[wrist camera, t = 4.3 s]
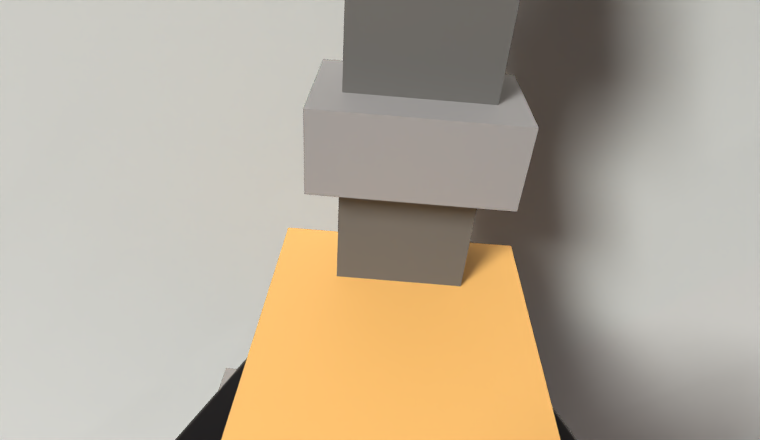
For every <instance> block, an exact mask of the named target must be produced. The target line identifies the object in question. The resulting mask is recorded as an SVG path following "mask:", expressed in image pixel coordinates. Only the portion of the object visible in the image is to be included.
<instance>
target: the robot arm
mask: <svg viewBox="0 0 760 440" xmlns="http://www.w3.org/2000/svg"><path fill="white" fill-rule="evenodd" d="M246 360H247V359H246ZM246 360H245V361H244V362H243V363H242V364H241V365H240V367H239V368H238V369H237V370H236V371H235V372H234V373H233V374H232V376H231V377H230V378H229V379H228V380H227V381H226V382H225V384H224V385H223V386H222V387H221V388H220V389H219V390H218V392H217V393H216V394H215V395H214V396H213V397H212V398H211V400H210V401H209V402H208V403H207V404H206V405H205V406H204V408H203V409H202V410H201V411H200V412H199V413H198V414H197V415H196V417H195V418H194V419H193V420H192V421H191V422H190V423H189V425H188V426H187V427H186V428H185V429H184V430H183V431H182V433H181V434H180V435H179V436H178V437H177V438H176V439H175V440H221V439H222V436H223V433H224V429H225V426H226V423H227V420H228V417H229V414H230V410H231V407H232V404H233V401H234V398H235V395H236V392H237V388H238V385H239V382H240V379H241V376H242V373H243V369H244V366H245V363H246ZM552 408H553V407H552ZM553 412H554V416H555V420H556V424H557V428H558V432H559V436H560V440H576V438H575V437H574V436H573V434H572V433H571V432H570V430H569V429H568V427H567V426H566V425H565V423H564V422H563V421H562V419H561V418H560V417H559V415H558V414H557V412H556V411H555V410H554V408H553Z"/></svg>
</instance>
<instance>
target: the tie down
mask: <svg viewBox="0 0 760 440" xmlns="http://www.w3.org/2000/svg"><path fill="white" fill-rule="evenodd" d="M519 3H520V0H345V11H344V45H343V61H340V60H328V59H323V61H322V63H321V66H320V68H319V71H318V73H317V76H316V78H315V81H314V83H313V86H312V88H311V91H310V93H309V96H308V98H307V100H306V103H305V105H304V108H303V127H304V194H309V195H321V196H333V197H339V214H338V232H335V231H323V230H311V229H299V228H288V230H287V234H286V237H285V240H284V243H283V246H282V249H281V253H280V256H279V259H278V262H277V265H276V268H275V271H274V275H273V278H272V281H271V284H270V287H269V290H268V294H267V297H266V300H265V303H264V306H263V309H262V313H261V316H260V319H259V322H258V325H257V328H256V332H255V335H254V338H253V341H252V344H251V347H250V350H249V354H248V357H247V360H246V363H245V366H244V369H243V373H242V376H241V379H240V382H239V385H238V388H237V392H236V395H235V398H234V401H233V404H232V407H231V410H230V414H229V417H228V420H227V423H226V426H225V429H224V433H223V436H222V439H221V440H560V436H559V432H558V428H557V424H556V420H555V416H554V412H553V408H552V404H551V401H550V397H549V393H548V389H547V385H546V381H545V377H544V373H543V369H542V365H541V361H540V357H539V354H538V350H537V346H536V342H535V338H534V334H533V330H532V326H531V322H530V318H529V314H528V310H527V307H526V303H525V299H524V295H523V291H522V287H521V283H520V279H519V275H518V271H517V267H516V263H515V260H514V256H513V252H512V248H511V246H506V245H494V244H482V243H470V239H471V234H472V229H473V225H474V220H475V215H476V210H477V208H479V209H491V210H504V211H516V212H517V210H518V206H519V202H520V198H521V194H522V191H523V187H524V183H525V179H526V175H527V171H528V167H529V164H530V160H531V156H532V152H533V148H534V144H535V141H536V137H537V133H538V129H539V127H538V125H537V123H536V121H535V119H534V117H533V114H532V112H531V110H530V108H529V106H528V104H527V101H526V99H525V97H524V95H523V93H522V91H521V88H520V86H519V84H518V82H517V80H516V77H515V75H509V74H505V70H506V65H507V61H508V56H509V51H510V46H511V41H512V37H513V32H514V27H515V22H516V17H517V12H518V8H519ZM236 370H237V369H230V368H226V370H225V373H224V376H223V379H222V381H221V384H220V387H219V389H220V388H221V387H222V386H223V385H224V384H225V382H226V381H227V380H228V379H229V378H230V377H231V376H232V374H233V373H234V372H235V371H236Z"/></svg>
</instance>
